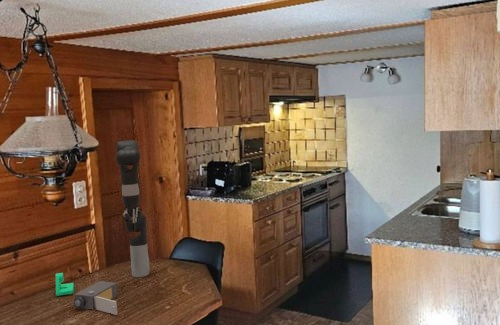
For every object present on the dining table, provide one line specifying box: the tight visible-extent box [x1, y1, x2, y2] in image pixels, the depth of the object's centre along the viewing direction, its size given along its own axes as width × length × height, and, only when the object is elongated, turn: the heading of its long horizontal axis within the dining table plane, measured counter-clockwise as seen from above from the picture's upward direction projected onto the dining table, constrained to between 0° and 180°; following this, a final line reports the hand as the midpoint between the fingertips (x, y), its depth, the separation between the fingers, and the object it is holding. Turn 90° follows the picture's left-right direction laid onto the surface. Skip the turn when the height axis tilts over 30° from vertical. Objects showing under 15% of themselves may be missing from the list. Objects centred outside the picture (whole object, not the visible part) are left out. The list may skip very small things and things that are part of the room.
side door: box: [94, 296, 118, 316], centre depth 220 cm, size 14×2×6 cm, turn 57°
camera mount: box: [55, 272, 75, 297], centre depth 248 cm, size 12×8×10 cm, turn 17°
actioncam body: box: [73, 280, 119, 311], centre depth 233 cm, size 21×10×7 cm, turn 159°
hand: (133, 230), depth 228 cm, fingers closed
